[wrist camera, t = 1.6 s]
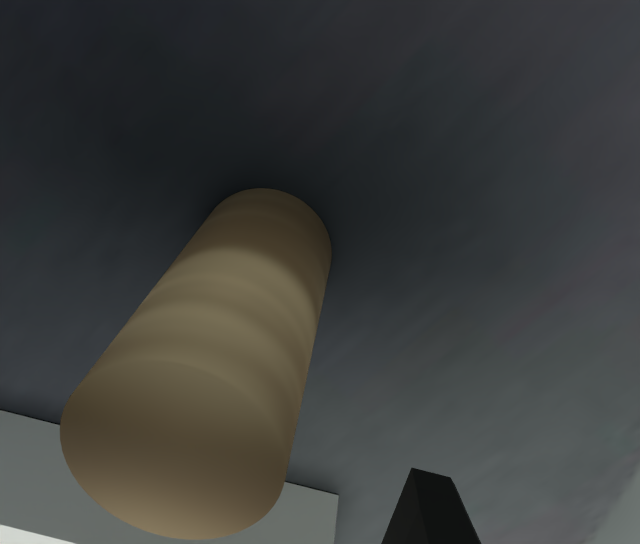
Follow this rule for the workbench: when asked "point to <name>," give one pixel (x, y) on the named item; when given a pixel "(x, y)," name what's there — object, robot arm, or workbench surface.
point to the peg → (206, 376)
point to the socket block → (101, 526)
